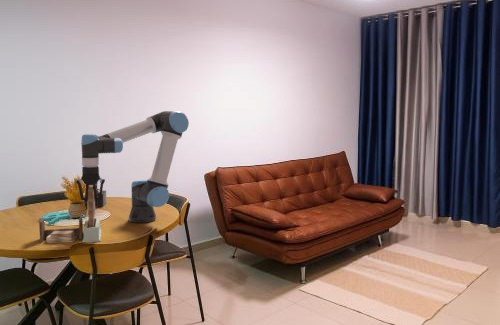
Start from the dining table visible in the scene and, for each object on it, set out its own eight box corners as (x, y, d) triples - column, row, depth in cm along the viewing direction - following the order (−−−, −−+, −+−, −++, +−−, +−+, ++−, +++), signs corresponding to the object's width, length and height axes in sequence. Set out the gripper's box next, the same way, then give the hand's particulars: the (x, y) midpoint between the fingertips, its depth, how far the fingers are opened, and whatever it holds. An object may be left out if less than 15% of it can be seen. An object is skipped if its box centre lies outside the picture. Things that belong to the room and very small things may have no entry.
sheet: (93, 231, 190) (92, 190, 188) (88, 231, 190) (87, 190, 188) (94, 223, 205) (93, 184, 202) (90, 223, 204) (89, 185, 202)
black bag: (89, 204, 268) (89, 177, 266) (106, 203, 270) (106, 177, 267) (82, 209, 253) (82, 181, 251) (100, 209, 254) (100, 181, 252)
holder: (101, 230, 208) (101, 217, 207) (100, 241, 190) (100, 227, 189) (84, 231, 206) (84, 218, 205) (82, 242, 187) (81, 228, 187)
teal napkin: (85, 219, 231) (68, 213, 244) (85, 215, 231) (68, 209, 244) (50, 225, 216) (34, 219, 229) (50, 222, 216) (34, 215, 228)
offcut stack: (76, 239, 193) (76, 230, 193) (73, 242, 188) (73, 233, 188) (50, 240, 192) (49, 231, 191) (46, 243, 187) (46, 234, 186)
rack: (82, 235, 199) (82, 215, 198) (81, 239, 192) (81, 219, 191) (42, 237, 193) (42, 217, 192) (40, 242, 186) (39, 222, 185)
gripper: (107, 164, 200) (107, 210, 202) (74, 165, 195) (75, 212, 197) (106, 166, 193) (107, 214, 195) (72, 167, 188) (74, 216, 190)
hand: (91, 213), depth 196 cm, fingers closed on sheet, 2 cm apart
